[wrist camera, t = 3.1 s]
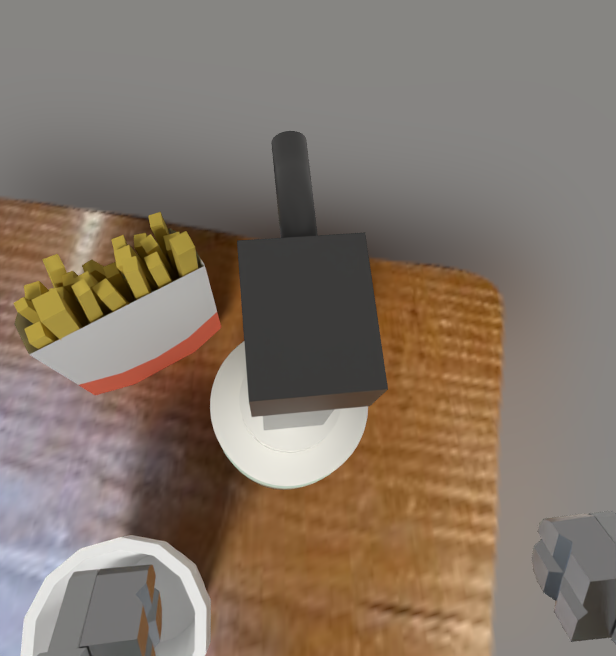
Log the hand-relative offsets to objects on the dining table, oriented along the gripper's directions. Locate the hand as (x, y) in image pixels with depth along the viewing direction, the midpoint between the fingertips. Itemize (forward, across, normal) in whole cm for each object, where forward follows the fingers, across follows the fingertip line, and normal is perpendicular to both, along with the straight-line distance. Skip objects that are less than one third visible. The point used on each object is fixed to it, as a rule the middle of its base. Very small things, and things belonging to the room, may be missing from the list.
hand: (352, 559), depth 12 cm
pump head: (+15, 0, +3) cm, 15 cm away
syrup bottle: (+28, 0, +19) cm, 34 cm away
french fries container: (+34, +10, +13) cm, 38 cm away
